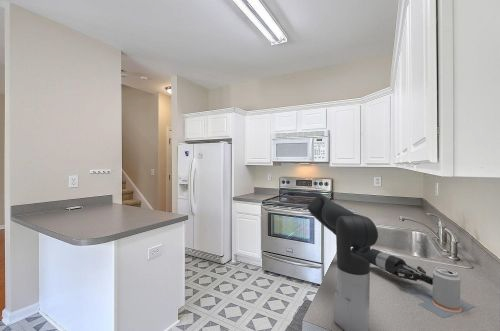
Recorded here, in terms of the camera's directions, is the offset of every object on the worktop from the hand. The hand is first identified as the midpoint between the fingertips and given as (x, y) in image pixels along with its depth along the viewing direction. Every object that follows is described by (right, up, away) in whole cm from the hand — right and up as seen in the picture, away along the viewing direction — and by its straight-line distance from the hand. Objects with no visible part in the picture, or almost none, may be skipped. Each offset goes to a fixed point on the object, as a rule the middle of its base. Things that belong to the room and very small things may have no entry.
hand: (433, 282), depth 86 cm
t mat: (0, -6, +1) cm, 6 cm away
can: (+2, -6, -3) cm, 7 cm away
